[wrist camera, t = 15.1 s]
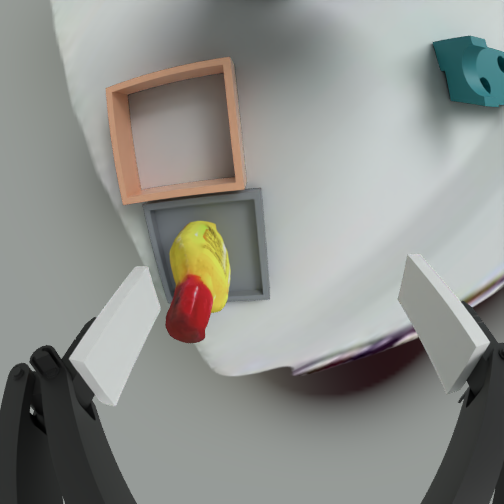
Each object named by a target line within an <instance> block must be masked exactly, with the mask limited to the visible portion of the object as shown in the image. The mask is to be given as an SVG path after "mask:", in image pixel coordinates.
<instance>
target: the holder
mask: <svg viewBox="0 0 504 504" xmlns="http://www.w3.org/2000/svg"><path fill="white" fill-rule="evenodd" d="M220 73H224V80H225V89H226V98H227V108H228V117H229V126H230V135H231V144H232V153H233V162H234V170H235V177H230V178H220V179H212V180H203V181H195V182H188V183H181V184H174V185H167V186H161V187H154V188H148V189H143V190H141V186H140V181H139V175H138V169H137V163H136V157H135V151H134V144H133V137H132V129H131V121H130V113H129V103H128V95H129V94H132V93H135V92H139V91H142V90H145V89H149V88H153V87H156V86H160V85H164V84H168V83H172V82H177V81H181V80H186V79H191V78H196V77H201V76H207V75H213V74H220ZM106 98H107V109H108V118H109V127H110V135H111V142H112V149H113V155H114V161H115V167H116V173H117V178H118V183H119V188H120V193H121V198H122V202H123V205H127V204H133V203H139V202H146V201H152V200H159V199H166V198H174V197H181V196H189V195H197V194H206V193H215V192H225V191H235V190H244V189H245V187H246V184H247V178H246V168H245V159H244V150H243V140H242V131H241V121H240V112H239V103H238V93H237V84H236V75H235V66H234V63H233V61H232V59H231V57H225V58H218V59H212V60H206V61H200V62H195V63H190V64H186V65H181V66H177V67H173V68H168V69H165V70H161V71H157V72H153V73H150V74H146V75H143V76H140V77H137V78H133V79H130V80H127V81H124V82H121V83H119V84H116V85H113V86H110V87H108V88H106Z"/></svg>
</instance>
